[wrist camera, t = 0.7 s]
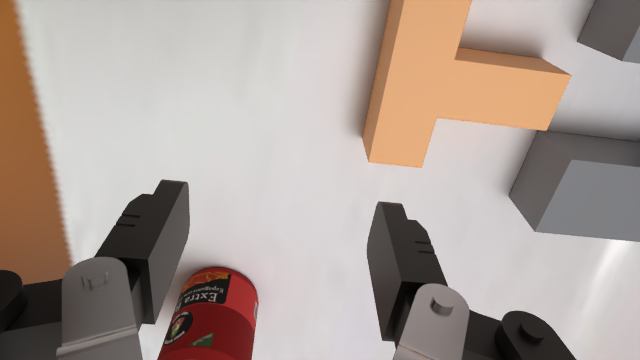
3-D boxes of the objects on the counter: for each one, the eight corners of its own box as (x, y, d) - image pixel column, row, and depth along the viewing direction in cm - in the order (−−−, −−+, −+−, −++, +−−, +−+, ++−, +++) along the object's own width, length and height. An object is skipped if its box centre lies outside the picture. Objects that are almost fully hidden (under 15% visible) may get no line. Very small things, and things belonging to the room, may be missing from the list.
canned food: (225, 253, 40) (200, 354, 30) (275, 301, 43) (266, 406, 34) (166, 285, 42) (124, 390, 32) (218, 329, 45) (194, 435, 36)
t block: (396, -25, 28) (408, -18, 24) (566, 0, 29) (600, 10, 25) (362, 138, 34) (368, 162, 30) (503, 154, 35) (524, 179, 31)
